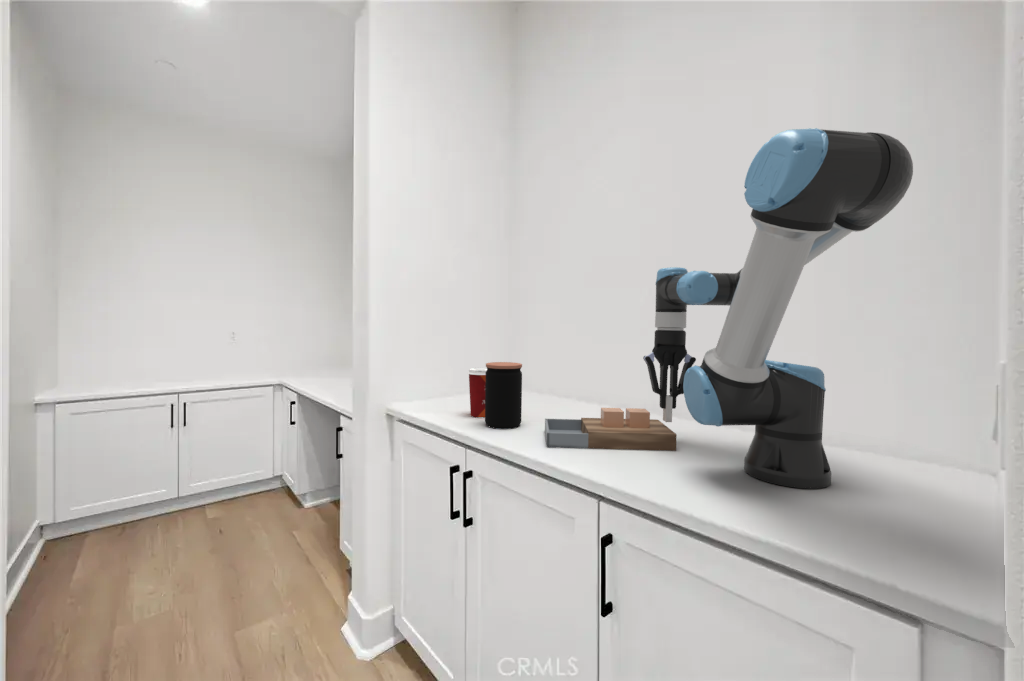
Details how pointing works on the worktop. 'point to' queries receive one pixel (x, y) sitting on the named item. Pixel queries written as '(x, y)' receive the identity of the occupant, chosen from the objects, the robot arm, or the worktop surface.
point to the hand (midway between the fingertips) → (667, 420)
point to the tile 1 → (612, 417)
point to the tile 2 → (637, 418)
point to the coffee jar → (503, 394)
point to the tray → (565, 433)
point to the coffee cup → (477, 391)
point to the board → (628, 436)
